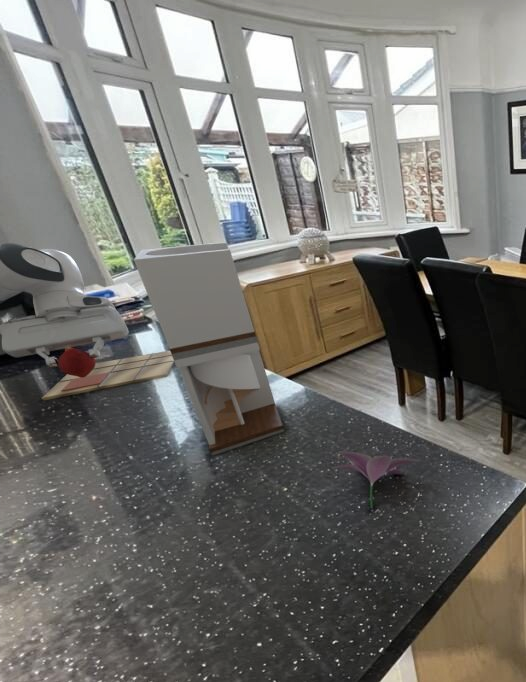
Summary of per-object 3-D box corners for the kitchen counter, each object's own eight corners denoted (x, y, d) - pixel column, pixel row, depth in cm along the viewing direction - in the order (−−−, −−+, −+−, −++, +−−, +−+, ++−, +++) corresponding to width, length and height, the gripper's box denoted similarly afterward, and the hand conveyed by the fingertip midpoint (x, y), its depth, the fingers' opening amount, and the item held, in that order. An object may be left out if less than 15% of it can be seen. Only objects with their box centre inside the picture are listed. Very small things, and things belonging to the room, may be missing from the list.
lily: (433, 496, 61) (427, 434, 62) (376, 525, 51) (369, 449, 52) (377, 495, 66) (372, 438, 68) (315, 521, 56) (310, 453, 57)
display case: (213, 458, 69) (133, 259, 55) (211, 429, 77) (141, 249, 63) (285, 433, 75) (230, 249, 62) (276, 409, 83) (226, 241, 69)
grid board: (44, 402, 88) (40, 397, 87) (76, 371, 103) (74, 366, 102) (167, 378, 98) (165, 373, 97) (181, 352, 112) (179, 347, 112)
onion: (96, 369, 97) (81, 339, 94) (104, 374, 95) (89, 344, 91) (63, 379, 93) (46, 348, 90) (71, 385, 90) (53, 353, 87)
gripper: (-11, 314, 86) (-2, 369, 83) (115, 296, 98) (127, 343, 95) (6, 327, 91) (16, 380, 88) (124, 309, 103) (136, 354, 100)
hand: (74, 361), depth 91 cm, fingers closed on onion, 5 cm apart
